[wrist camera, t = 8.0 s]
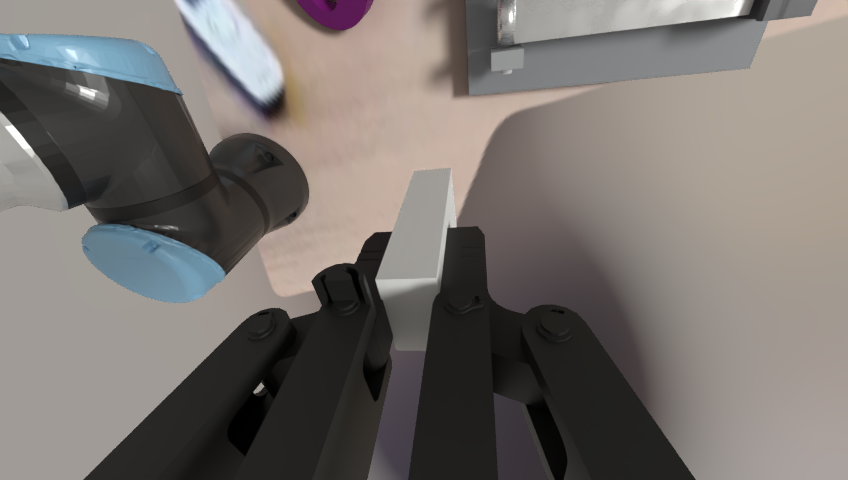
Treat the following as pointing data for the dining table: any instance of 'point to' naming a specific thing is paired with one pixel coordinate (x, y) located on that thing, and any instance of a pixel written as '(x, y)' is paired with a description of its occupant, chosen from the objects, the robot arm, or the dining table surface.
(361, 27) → the dining table surface
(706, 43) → the latch base
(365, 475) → the robot arm
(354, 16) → the mounting bracket
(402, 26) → the dining table surface
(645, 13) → the grey long flat bar
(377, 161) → the dining table surface
